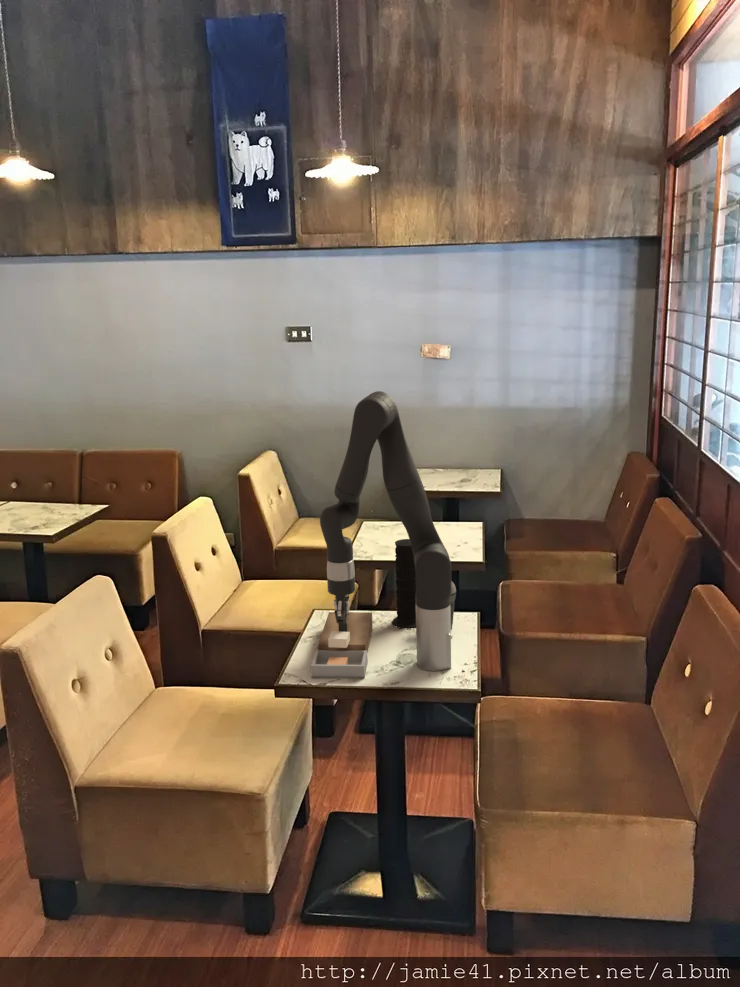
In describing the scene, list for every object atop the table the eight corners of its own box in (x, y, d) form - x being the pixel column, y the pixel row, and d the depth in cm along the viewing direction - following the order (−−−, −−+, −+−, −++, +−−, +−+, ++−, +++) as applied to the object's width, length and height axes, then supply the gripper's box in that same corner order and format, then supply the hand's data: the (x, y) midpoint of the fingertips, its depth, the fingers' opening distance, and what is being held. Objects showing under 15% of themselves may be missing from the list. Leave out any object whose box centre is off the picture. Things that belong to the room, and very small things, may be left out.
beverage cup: (429, 632, 241) (428, 567, 236) (435, 622, 248) (434, 559, 243) (454, 634, 239) (453, 569, 234) (458, 624, 246) (458, 561, 241)
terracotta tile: (345, 665, 214) (345, 674, 215) (347, 657, 219) (348, 665, 219) (326, 665, 215) (326, 674, 215) (329, 657, 219) (329, 665, 220)
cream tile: (350, 640, 225) (349, 631, 224) (346, 647, 220) (346, 639, 220) (332, 639, 226) (331, 631, 225) (328, 647, 221) (328, 638, 220)
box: (367, 662, 223) (367, 650, 222) (364, 678, 213) (364, 666, 212) (316, 661, 224) (316, 650, 223) (311, 677, 215) (310, 665, 214)
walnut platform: (372, 628, 245) (372, 612, 244) (365, 661, 223) (365, 644, 222) (329, 627, 246) (329, 612, 245) (318, 661, 224) (317, 644, 223)
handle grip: (409, 613, 256) (385, 622, 249) (407, 532, 249) (382, 539, 243) (431, 622, 248) (407, 631, 242) (430, 538, 242) (405, 546, 236)
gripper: (351, 583, 216) (353, 644, 220) (357, 567, 228) (359, 624, 233) (323, 583, 216) (326, 644, 221) (330, 567, 229) (333, 624, 233)
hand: (343, 634), depth 227 cm, fingers closed
